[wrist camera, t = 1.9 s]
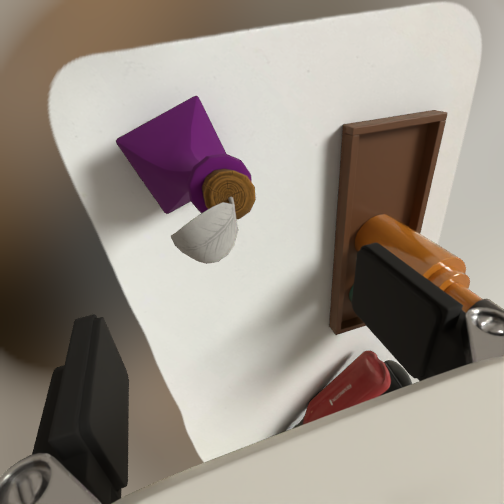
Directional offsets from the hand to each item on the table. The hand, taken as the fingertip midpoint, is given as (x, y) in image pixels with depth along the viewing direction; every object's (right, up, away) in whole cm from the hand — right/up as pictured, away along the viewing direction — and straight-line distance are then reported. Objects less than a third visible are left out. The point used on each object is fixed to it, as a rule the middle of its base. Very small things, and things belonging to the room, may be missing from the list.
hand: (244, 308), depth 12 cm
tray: (+17, +4, +32) cm, 36 cm away
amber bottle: (+17, +4, +31) cm, 36 cm away
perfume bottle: (-7, +12, +19) cm, 23 cm away
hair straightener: (+12, -29, +50) cm, 59 cm away
